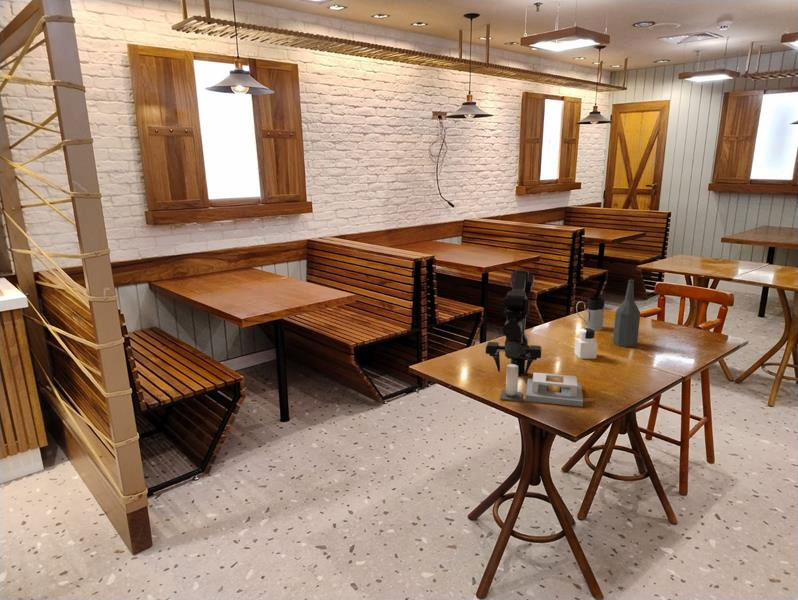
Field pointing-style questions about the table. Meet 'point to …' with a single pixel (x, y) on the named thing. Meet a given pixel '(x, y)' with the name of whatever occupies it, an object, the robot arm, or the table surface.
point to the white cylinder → (511, 380)
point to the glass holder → (594, 313)
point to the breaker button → (554, 389)
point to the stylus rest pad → (518, 398)
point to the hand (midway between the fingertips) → (512, 373)
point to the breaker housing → (568, 389)
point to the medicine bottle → (586, 344)
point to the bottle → (627, 320)
